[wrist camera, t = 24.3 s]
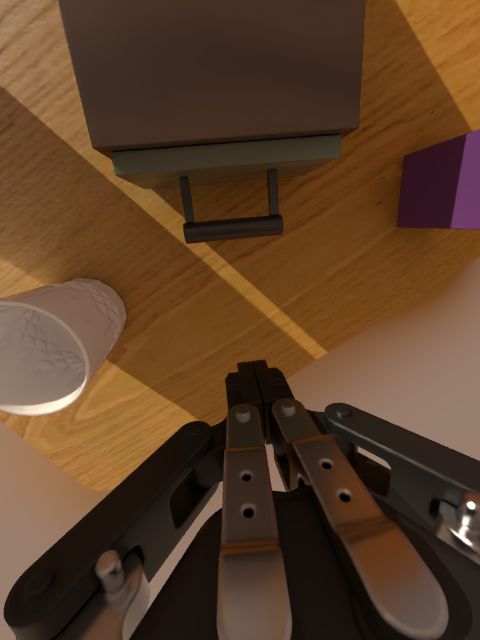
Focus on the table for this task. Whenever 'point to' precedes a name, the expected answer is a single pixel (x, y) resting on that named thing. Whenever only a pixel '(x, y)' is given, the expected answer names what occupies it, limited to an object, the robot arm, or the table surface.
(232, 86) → the cabinet
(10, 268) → the table surface
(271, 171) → the drawer
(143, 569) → the robot arm
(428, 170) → the snack box
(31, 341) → the white cup
